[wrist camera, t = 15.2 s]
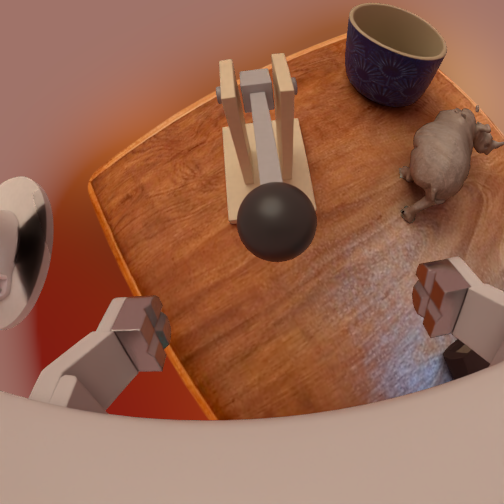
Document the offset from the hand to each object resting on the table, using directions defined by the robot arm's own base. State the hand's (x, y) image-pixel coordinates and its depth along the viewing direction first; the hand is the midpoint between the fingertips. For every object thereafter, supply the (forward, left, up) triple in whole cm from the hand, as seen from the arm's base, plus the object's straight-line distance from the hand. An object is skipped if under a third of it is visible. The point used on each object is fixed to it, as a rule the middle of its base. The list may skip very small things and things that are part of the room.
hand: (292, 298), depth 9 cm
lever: (+4, +8, -8) cm, 12 cm away
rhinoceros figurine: (+25, +2, -21) cm, 33 cm away
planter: (+30, +16, -21) cm, 40 cm away
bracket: (+8, +14, -21) cm, 27 cm away
